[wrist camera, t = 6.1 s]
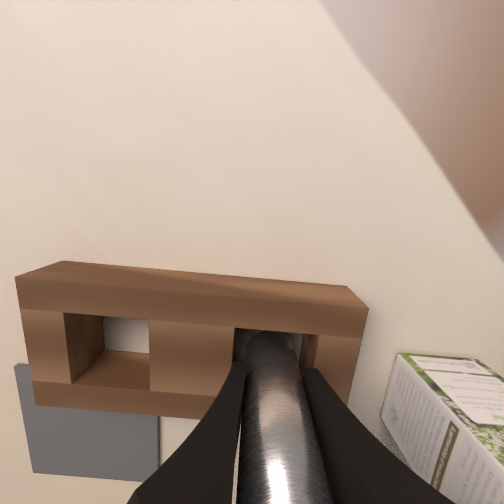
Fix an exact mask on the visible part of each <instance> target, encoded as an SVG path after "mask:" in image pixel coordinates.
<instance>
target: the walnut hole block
mask: <svg viewBox="0 0 504 504" xmlns="http://www.w3.org/2000/svg"><path fill="white" fill-rule="evenodd" d="M15 282H16V288H17V294H18V300H19V306H20V313H21V319H22V325H23V331H24V337H25V343H26V349H27V355H28V362H29V368H30V374H31V380H32V386H33V392H34V398H35V404H36V406H48V407H60V408H71V409H83V410H95V411H106V412H118V413H130V414H141V415H153V416H164V417H176V418H188V419H199V420H201V419H202V418H203V417H204V415H205V414H206V412H207V411H208V409H209V408H210V406H211V405H212V403H213V401H214V400H215V398H216V397H217V395H218V393H219V391H220V390H221V388H222V386H223V384H224V382H225V380H226V378H227V376H228V373H229V371H230V368H231V365H232V363H233V362H234V351H235V339H236V328H246V329H257V330H269V331H280V332H291V333H302V334H303V338H302V344H301V351H300V357H299V363H298V365H299V369H300V373H301V377H302V381H303V378H304V372H305V367H306V368H317V369H318V370H319V371H320V373H321V374H322V375H323V377H324V378H325V379H326V381H327V382H328V383H329V385H330V386H331V387H332V389H333V390H334V391H335V393H336V394H337V395H338V396H339V398H340V399H341V400H342V401H343V402H344V404H345V405H346V406H347V402H348V398H349V393H350V389H351V385H352V380H353V376H354V371H355V367H356V363H357V358H358V354H359V350H360V345H361V341H362V337H363V332H364V328H365V324H366V319H367V315H368V310H369V308H368V307H367V306H366V305H365V304H364V303H363V302H362V301H361V300H360V299H359V298H358V297H357V296H356V295H355V294H354V293H353V292H352V291H351V290H350V289H349V288H348V287H347V286H339V285H328V284H317V283H306V282H295V281H283V280H272V279H261V278H250V277H239V276H228V275H217V274H205V273H194V272H183V271H172V270H161V269H150V268H139V267H127V266H116V265H105V264H94V263H83V262H72V261H60V262H57V263H54V264H51V265H48V266H45V267H43V268H40V269H37V270H34V271H31V272H28V273H25V274H22V275H19V276H16V277H15ZM102 316H110V317H121V318H133V319H144V320H149V354H146V353H135V352H123V351H112V350H104V336H103V322H102ZM241 418H242V417H241Z"/></svg>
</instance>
